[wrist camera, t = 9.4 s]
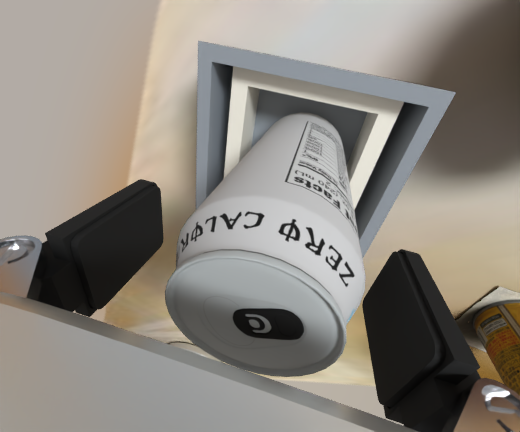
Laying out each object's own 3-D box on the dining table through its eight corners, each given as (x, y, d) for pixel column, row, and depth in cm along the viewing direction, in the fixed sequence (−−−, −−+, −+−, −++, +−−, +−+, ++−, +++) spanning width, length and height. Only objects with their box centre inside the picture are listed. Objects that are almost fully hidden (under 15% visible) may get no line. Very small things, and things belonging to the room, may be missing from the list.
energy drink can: (254, 122, 18) (100, 245, 6) (337, 99, 16) (364, 216, 4) (274, 192, 21) (198, 375, 9) (347, 180, 19) (381, 400, 7)
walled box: (336, 261, 24) (338, 301, 20) (216, 227, 26) (195, 258, 22) (421, 84, 15) (456, 92, 11) (230, 46, 17) (198, 40, 13)
